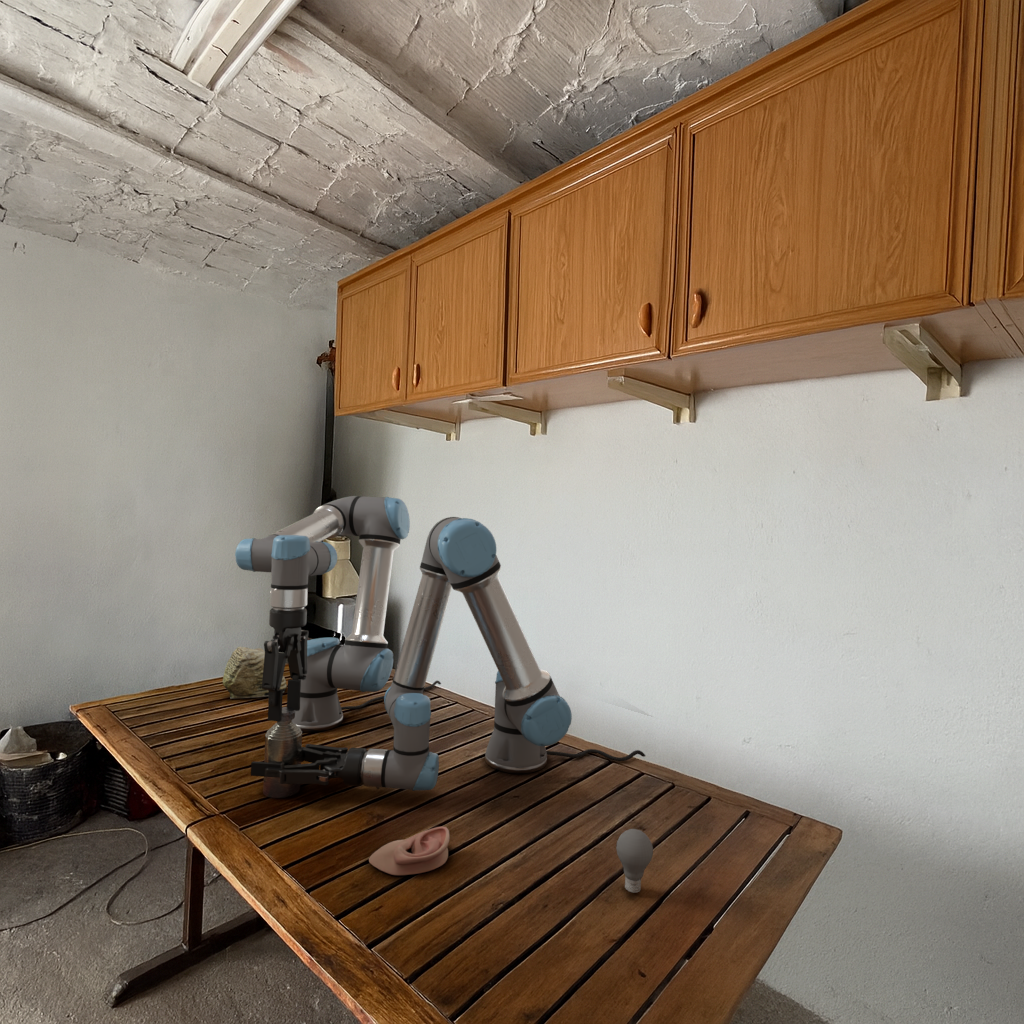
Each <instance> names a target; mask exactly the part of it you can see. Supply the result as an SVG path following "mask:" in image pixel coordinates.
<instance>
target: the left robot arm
mask: <svg viewBox="0 0 1024 1024" xmlns="http://www.w3.org/2000/svg"><path fill="white" fill-rule="evenodd" d="M410 525H411V521H410V514H409V510H408V507H407V505H406V502H404V500H402V499H400V498H397V497H389V496H363V495H361V496H360V495H351V496H345V497H341V498H338V499H334V500H332V501H329V502H326V503H324V504H322V505H320V506H318V507H316V509H315V510H314V511H313V512H312V513H311V514H310V515H308V516H305V517H303V518H302V519H300V520H297V521H295V522H294V523H292V524H289V525H287V526H285V527H283V528H281V529H279V530H277V531H275V532H273V533H270V534H268V535H267V536H264V537H262V538H254V537H251V538H244V539H242V540H240V541H239V542H238V544H237V545H236V548H235V552H234V556H235V563H236V565H237V567H239V569H241V570H243V571H249V572H250V571H251V572H253V573H256V572H259V573H270V574H271V576H270V577H271V579H270V581H271V582H270V591H269V592H270V593H269V595H270V600H269V601H270V602H269V606H270V607H272V608H270V610H269V617H268V618H269V620H268V624H269V626H270V627H271V628H273V635H272V639H270V640H265V641H264V642H263V647H264V649H263V650H264V652H265V657H264V667H263V678H262V689H265V690H268V691H269V696H267V697H268V701H267V704H268V705H267V706H268V707H267V721H271V722H277V721H278V722H280V721H282V707H283V696H284V695H283V694H284V692H283V690H282V689H280V687H281V682H282V678H283V676H284V672H285V668H286V663H287V665H288V671H289V677H290V678H289V679H288V680H287V690H286V692H287V693H286V707H292V708H294V709H295V718H294V719H292V722H293V723H295V724H296V725H297V726H298V727H299V728H300V729H301V731H302V733H316V732H325V731H329V730H332V729H335V728H337V727H339V726H340V725H342V723H343V722H344V714H343V711H345V710H357V709H358V710H359V709H362V708H364V707H365V706H367V705H369V704H371V703H373V702H376V701H380V700H384V696H385V695H382V696H378V697H377V696H376V697H373V698H371V699H369V700H367V701H365V702H363V703H362V704H359V705H348V706H341V702H340V699H339V695H338V689H339V690H340V689H341V690H347V691H348V690H349V691H359V692H362V693H366V692H367V693H369V692H370V693H377V692H379V691H381V690H382V689H383V688H384V687H385V685H386V684H387V683H388V681H389V679H390V676H391V675H392V670H393V668H394V667H393V666H394V653H393V651H392V650H391V649H389V648H388V644H389V642H388V641H387V639H386V638H385V636H384V632H385V624H386V616H387V608H388V600H389V593H390V584H391V577H392V568H393V560H394V552H395V551H396V550H397V549H398V548H400V546H401V540H404V539H407V537H408V536H409V533H410ZM339 536H351V537H358V543H359V544H360V545H361V547H362V554H361V562H360V568H359V569H360V570H359V578H358V585H357V591H356V599H355V607H354V612H353V613H354V614H353V620H352V628H351V633H350V634H349V635H348V636H347V637H345V639H344V644H340V643H341V641H340V639H339V638H338V637H334V636H333V637H318V638H313V639H309V630H305V629H302V628H303V627H305V626H306V625H307V621H308V620H307V619H308V618H307V617H308V616H307V615H308V610H307V608H306V607H307V606H308V592H309V591H308V590H309V577H313V576H322V575H325V574H326V573H329V572H331V571H332V570H333V569H334V568H335V567H336V565H337V563H338V553H337V550H336V548H335V546H333V545H332V544H331V543H329V542H328V541H327V542H326V541H325V540H327V539H335V538H337V537H339ZM437 684H438V685H442V682H441V681H440V680H435V681H434V682H433V683H432V684H430V685H428V686H425V687H424V690H423V692H424V691H427V690H429V689H432V688H433V687H435V686H436V685H437Z"/></svg>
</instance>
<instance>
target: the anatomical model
mask: <svg viewBox="0 0 1024 1024" xmlns="http://www.w3.org/2000/svg"><path fill="white" fill-rule="evenodd" d="M450 835H451V834H450V830H449V828H447V826H435V827H433V828H428V829H427V830H424V831H421V832H418V833H417V834H415V835H411V836H410V837H408V838H405V839H397V840H393V841H390V842H388V843H386V844H384V845H382V846H381V847H379V848H378V849H376V850H375V851H374V852H373V853H371V855H370V856H369V858H368V862H369V864H370V865H372V866H373V867H374V868H376V869H378V870H379V871H381V872H383V873H386V874H388V875H391V876H408V875H417V874H422V873H426V872H430V871H433V870H435V869H438V868H439V867H442V866H443V865H444V864H446V862H447V861H448V858H449V848H448V847H449V843H450V837H451V836H450Z"/></svg>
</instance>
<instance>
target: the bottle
mask: <svg viewBox="0 0 1024 1024" xmlns="http://www.w3.org/2000/svg"><path fill="white" fill-rule="evenodd" d="M264 735H265V736H264V761H263V762H271V763H282V762H284V766H286V765H297V764H302V762H301V751H302V747H303V732H302V731H301V729H300V728H299V727H298V726H297V725H296V724H295V723H293V722H292V720H290V721H280V722H278V721H276V722H275V723H274V724H273V725H272V726H271V727H270V728H269V729H268V730H267V731H266V733H265V734H264ZM262 789H263V790H262V792H263V795H264V796H265V797H267V798H271V799H284V798H289V797H292V796H294V795H296V794H298V793H299V792H300V790H301V784H280V778H278V777H263V788H262Z"/></svg>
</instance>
